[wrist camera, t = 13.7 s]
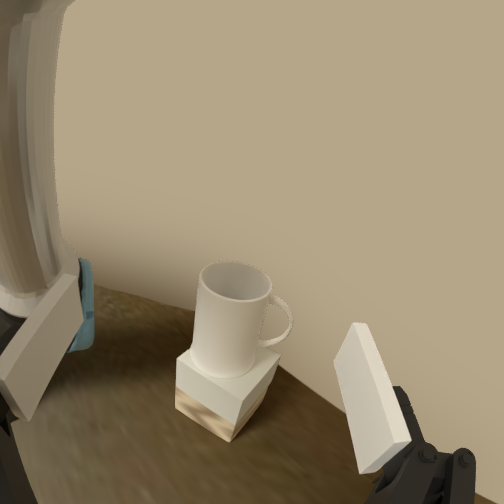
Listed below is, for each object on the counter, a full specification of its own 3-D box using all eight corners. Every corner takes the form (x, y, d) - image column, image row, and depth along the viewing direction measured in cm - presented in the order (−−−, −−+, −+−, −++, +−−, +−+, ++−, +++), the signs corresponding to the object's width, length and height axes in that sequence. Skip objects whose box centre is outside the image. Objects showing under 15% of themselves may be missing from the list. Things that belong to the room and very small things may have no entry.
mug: (281, 346, 43) (304, 276, 37) (274, 392, 35) (302, 319, 30) (200, 326, 44) (209, 252, 38) (180, 367, 36) (185, 289, 31)
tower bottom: (175, 408, 43) (175, 385, 40) (212, 373, 51) (216, 349, 48) (229, 443, 39) (235, 424, 36) (262, 402, 47) (270, 380, 44)
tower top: (175, 386, 40) (176, 358, 37) (217, 350, 48) (222, 322, 45) (235, 425, 36) (242, 400, 33) (271, 381, 44) (281, 355, 41)
